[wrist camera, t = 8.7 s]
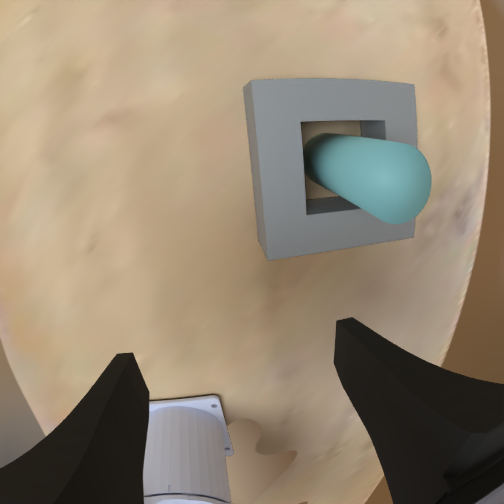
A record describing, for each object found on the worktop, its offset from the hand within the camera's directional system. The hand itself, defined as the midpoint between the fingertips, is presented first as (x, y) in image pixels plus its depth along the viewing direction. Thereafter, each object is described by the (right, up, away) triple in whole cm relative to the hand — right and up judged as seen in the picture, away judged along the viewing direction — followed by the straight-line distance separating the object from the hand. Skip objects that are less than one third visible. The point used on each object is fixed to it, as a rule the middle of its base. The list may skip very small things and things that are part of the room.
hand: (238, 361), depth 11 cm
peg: (+5, +9, +8) cm, 13 cm away
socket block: (+5, +9, +8) cm, 13 cm away
